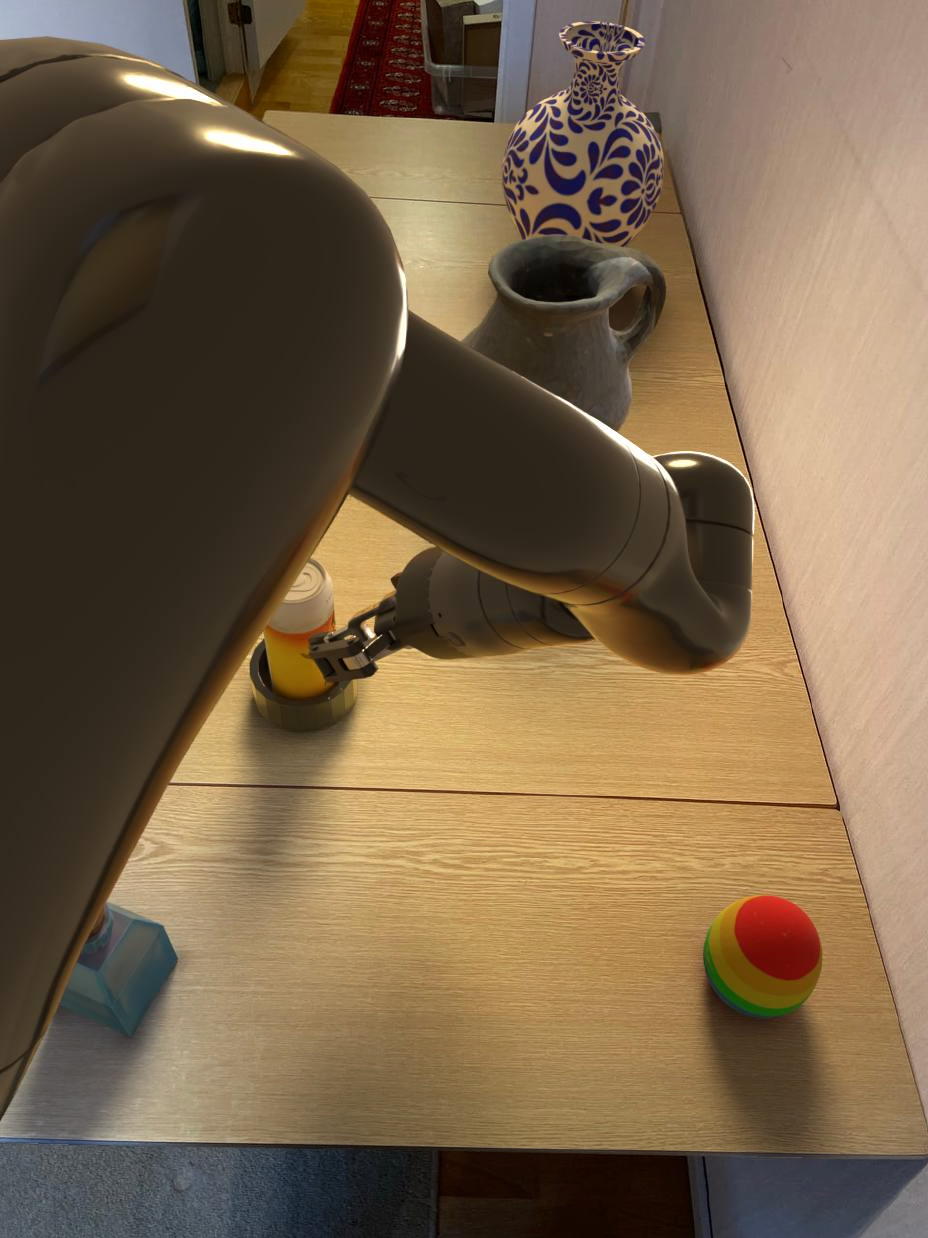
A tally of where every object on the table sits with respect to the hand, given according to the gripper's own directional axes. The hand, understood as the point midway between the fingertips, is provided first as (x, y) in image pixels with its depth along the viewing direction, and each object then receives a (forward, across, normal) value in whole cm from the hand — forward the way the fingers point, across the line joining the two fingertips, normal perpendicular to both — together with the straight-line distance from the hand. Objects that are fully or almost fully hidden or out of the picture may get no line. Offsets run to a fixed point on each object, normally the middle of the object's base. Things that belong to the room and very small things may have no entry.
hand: (359, 617), depth 74 cm
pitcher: (+22, -41, +2) cm, 47 cm away
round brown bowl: (+18, 0, +6) cm, 19 cm away
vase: (+38, -77, -14) cm, 87 cm away
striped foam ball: (-14, -5, +38) cm, 41 cm away
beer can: (+17, 0, +6) cm, 18 cm away
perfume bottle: (+11, +27, +14) cm, 32 cm away
